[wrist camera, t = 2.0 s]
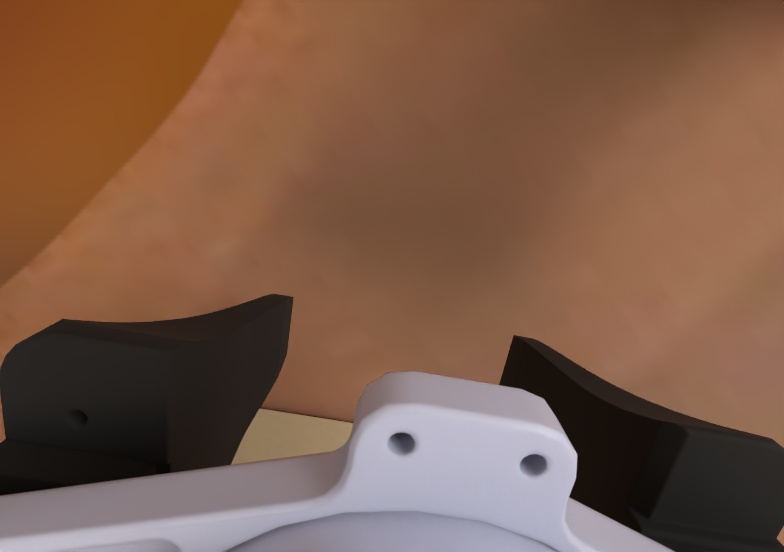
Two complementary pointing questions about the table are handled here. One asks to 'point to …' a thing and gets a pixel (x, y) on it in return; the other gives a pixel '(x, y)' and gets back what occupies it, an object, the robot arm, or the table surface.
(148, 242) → the table surface
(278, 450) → the door
